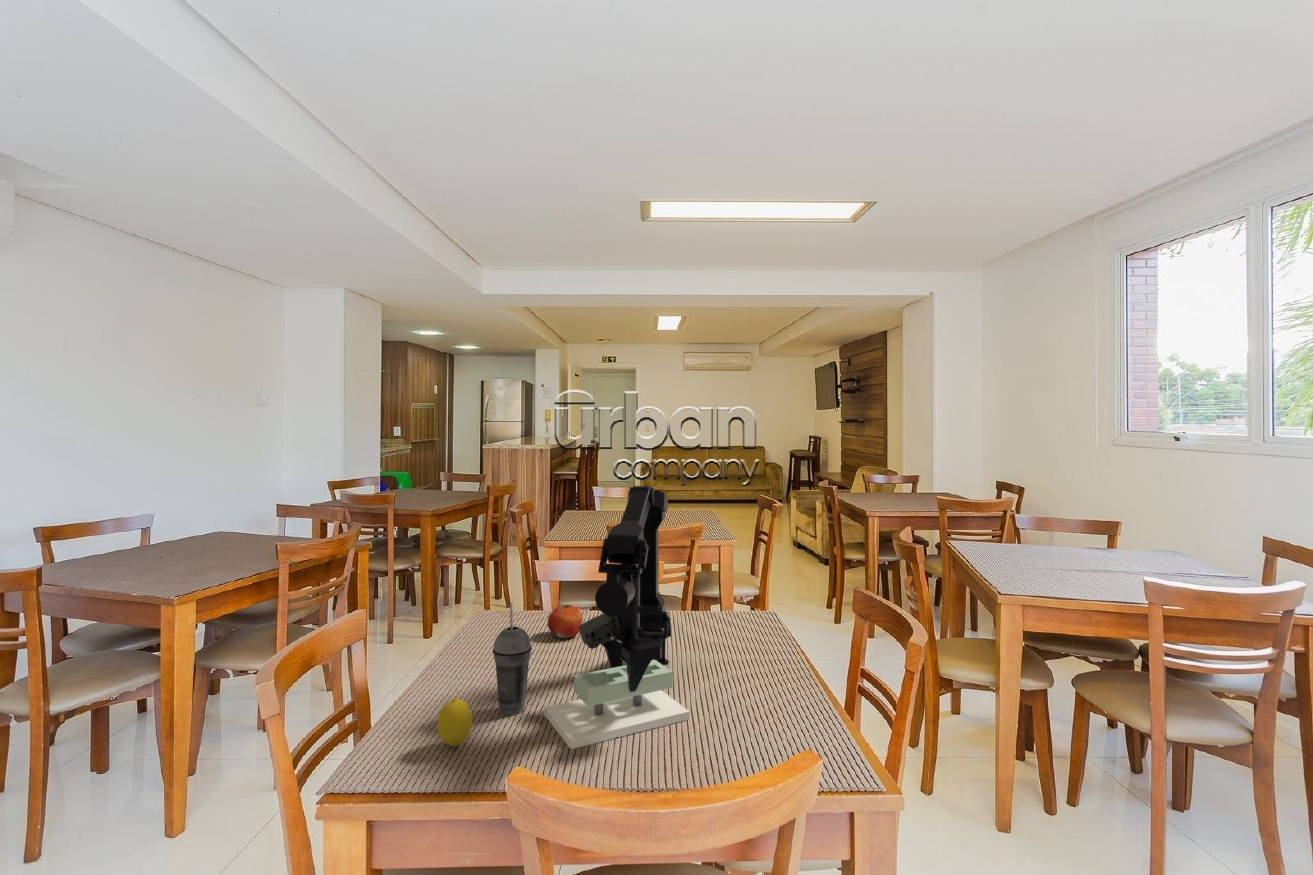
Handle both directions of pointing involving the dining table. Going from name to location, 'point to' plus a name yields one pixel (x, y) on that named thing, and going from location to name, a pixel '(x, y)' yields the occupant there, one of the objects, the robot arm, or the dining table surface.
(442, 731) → the lemon
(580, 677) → the panel
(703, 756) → the dining table surface
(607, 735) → the board
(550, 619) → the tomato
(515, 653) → the beverage cup
